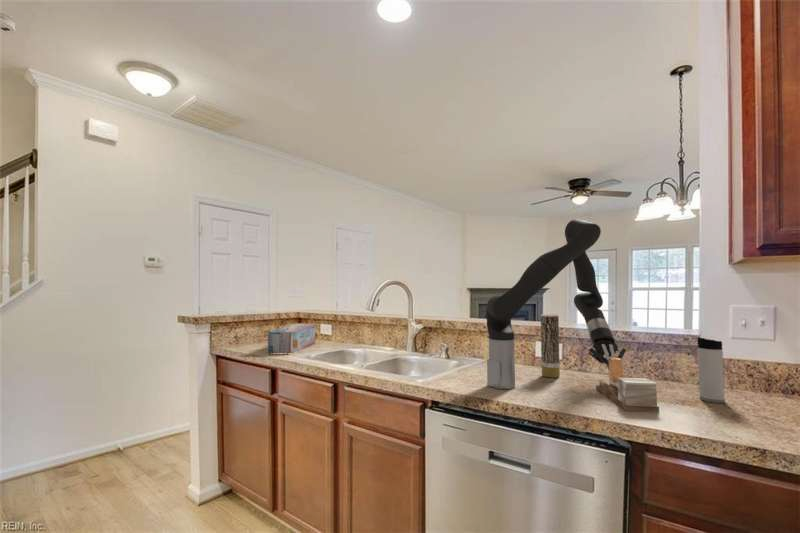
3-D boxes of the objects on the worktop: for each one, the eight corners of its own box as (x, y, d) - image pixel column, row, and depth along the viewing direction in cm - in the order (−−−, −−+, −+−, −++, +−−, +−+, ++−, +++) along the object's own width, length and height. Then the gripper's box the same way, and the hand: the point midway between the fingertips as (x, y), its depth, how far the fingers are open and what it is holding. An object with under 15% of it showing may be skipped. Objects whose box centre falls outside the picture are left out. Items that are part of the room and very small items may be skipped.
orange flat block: (637, 398, 117) (636, 365, 118) (625, 397, 118) (624, 365, 118) (619, 387, 130) (618, 358, 130) (609, 386, 130) (608, 357, 131)
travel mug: (693, 397, 124) (691, 336, 125) (712, 397, 125) (709, 336, 126) (710, 403, 118) (708, 339, 119) (730, 403, 118) (727, 339, 119)
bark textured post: (556, 374, 157) (555, 314, 158) (562, 378, 150) (560, 315, 151) (539, 374, 157) (538, 314, 159) (544, 378, 151) (543, 315, 152)
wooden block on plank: (659, 412, 110) (658, 383, 111) (626, 410, 111) (625, 382, 112) (622, 389, 134) (622, 366, 134) (596, 388, 135) (595, 365, 136)
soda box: (295, 343, 244) (295, 323, 245) (315, 343, 243) (316, 323, 244) (266, 354, 204) (267, 330, 204) (291, 355, 202) (291, 330, 203)
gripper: (615, 339, 145) (631, 379, 132) (579, 338, 147) (591, 378, 134) (621, 326, 140) (638, 367, 128) (583, 326, 142) (597, 366, 129)
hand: (614, 372), depth 131 cm, fingers closed
